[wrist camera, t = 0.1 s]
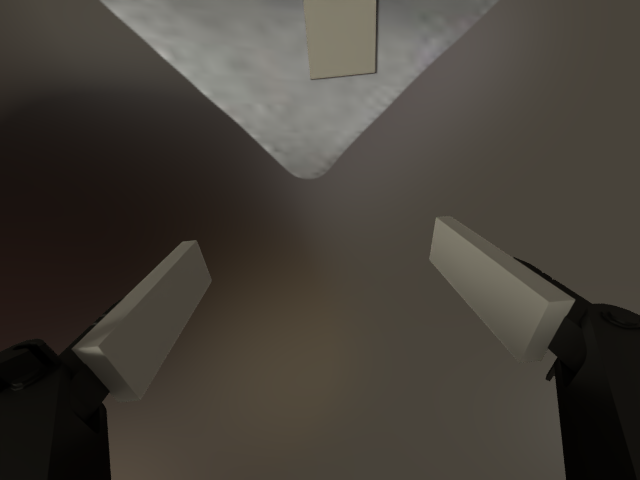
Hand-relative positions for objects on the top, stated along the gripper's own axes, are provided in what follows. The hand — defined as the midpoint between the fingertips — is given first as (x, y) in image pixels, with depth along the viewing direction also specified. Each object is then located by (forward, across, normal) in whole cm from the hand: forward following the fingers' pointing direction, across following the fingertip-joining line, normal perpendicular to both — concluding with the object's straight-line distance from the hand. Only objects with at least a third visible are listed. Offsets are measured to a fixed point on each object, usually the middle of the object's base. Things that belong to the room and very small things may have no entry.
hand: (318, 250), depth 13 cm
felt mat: (+28, +6, +16) cm, 33 cm away
